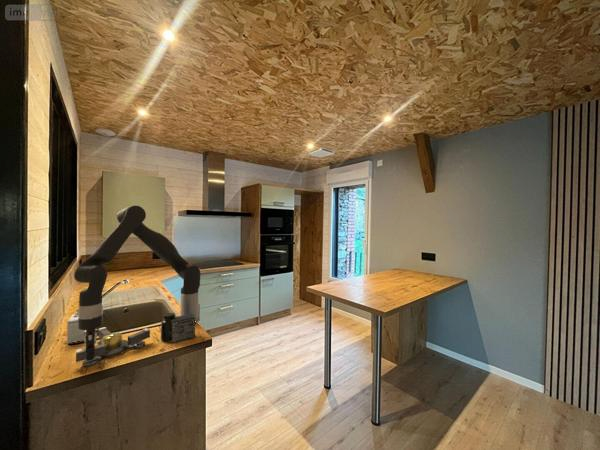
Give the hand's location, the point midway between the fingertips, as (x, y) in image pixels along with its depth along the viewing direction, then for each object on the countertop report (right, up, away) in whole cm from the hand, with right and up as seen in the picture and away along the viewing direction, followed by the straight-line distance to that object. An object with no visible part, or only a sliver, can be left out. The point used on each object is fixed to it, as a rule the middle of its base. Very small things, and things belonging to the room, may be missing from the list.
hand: (90, 355), depth 98 cm
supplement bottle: (+20, -4, +21) cm, 29 cm away
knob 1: (0, -2, 0) cm, 2 cm away
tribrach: (-1, -3, +10) cm, 11 cm away
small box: (+26, -4, +22) cm, 35 cm away
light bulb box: (-25, -3, +21) cm, 33 cm away
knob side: (-7, -2, +16) cm, 17 cm away
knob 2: (+10, -2, +14) cm, 17 cm away
